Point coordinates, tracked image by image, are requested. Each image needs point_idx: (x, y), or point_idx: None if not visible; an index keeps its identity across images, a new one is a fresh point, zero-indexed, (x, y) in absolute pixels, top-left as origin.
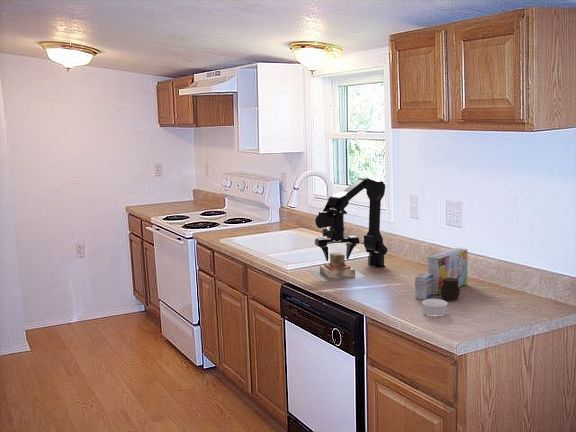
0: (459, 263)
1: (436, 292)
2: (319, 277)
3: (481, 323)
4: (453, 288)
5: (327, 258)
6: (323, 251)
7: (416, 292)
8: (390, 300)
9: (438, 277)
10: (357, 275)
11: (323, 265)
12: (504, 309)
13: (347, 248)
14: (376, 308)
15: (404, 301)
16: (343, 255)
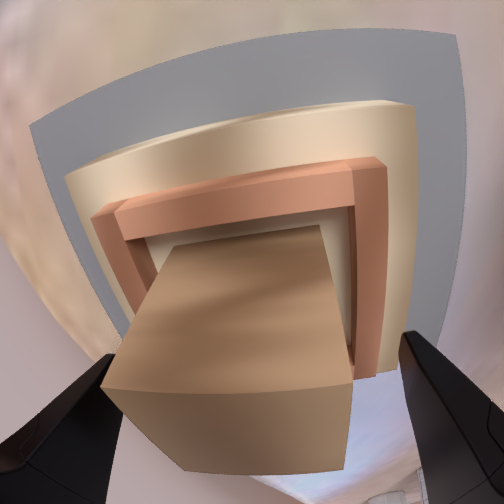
0: None
1: None
2: (118, 313)
3: (414, 498)
4: None
5: (115, 409)
6: (29, 441)
7: (420, 482)
8: (356, 480)
9: None
10: (409, 313)
11: (97, 178)
12: None
13: (462, 487)
14: (300, 496)
15: (382, 479)
16: (324, 465)
